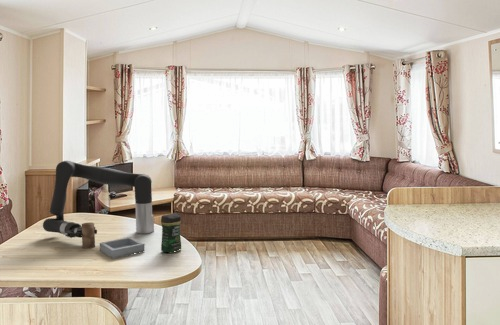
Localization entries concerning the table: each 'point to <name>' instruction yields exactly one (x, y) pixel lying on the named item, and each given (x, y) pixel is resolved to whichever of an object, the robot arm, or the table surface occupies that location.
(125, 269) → the table surface
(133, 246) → the grey tub
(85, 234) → the brown cylinder
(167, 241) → the coffee jar
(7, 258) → the table surface
